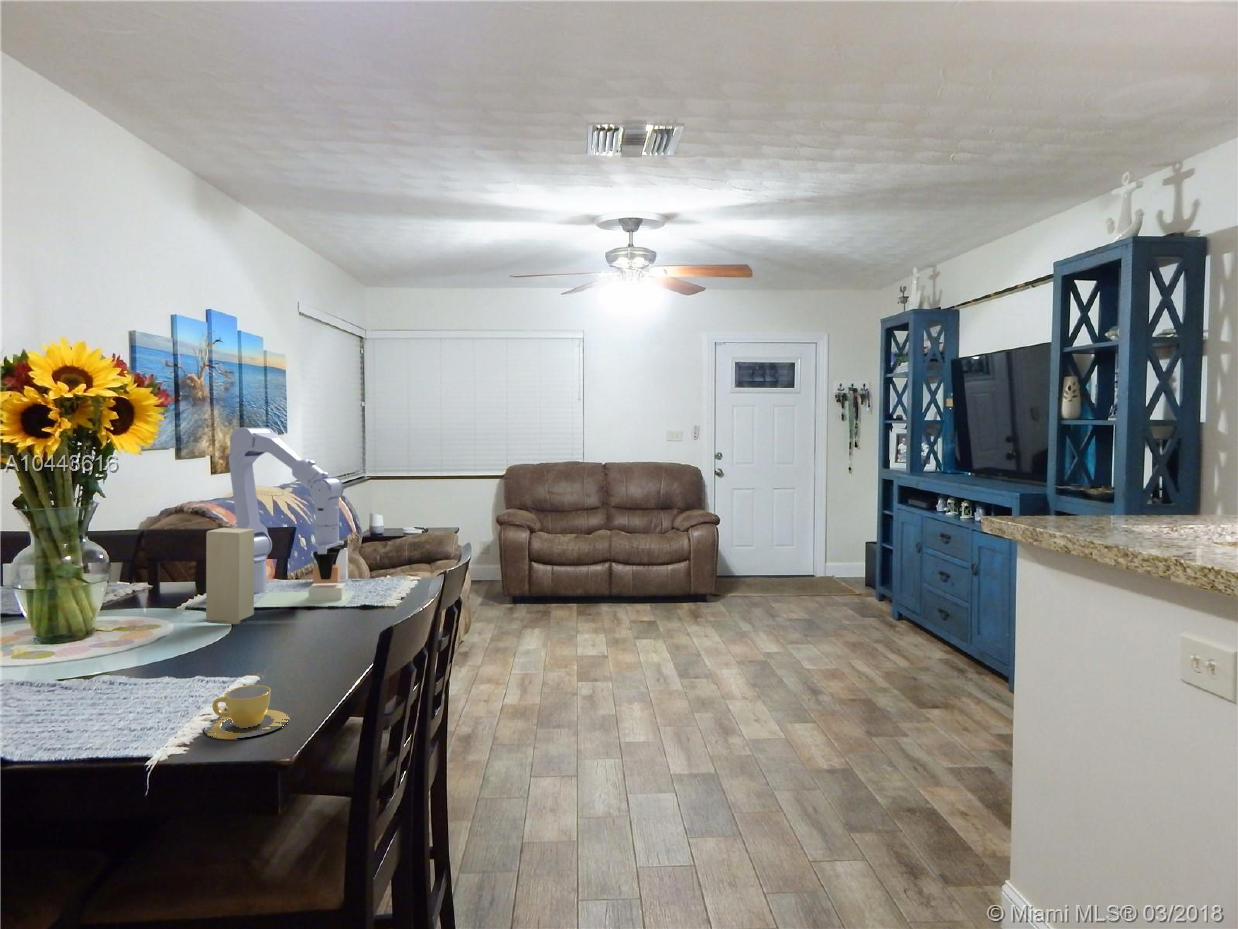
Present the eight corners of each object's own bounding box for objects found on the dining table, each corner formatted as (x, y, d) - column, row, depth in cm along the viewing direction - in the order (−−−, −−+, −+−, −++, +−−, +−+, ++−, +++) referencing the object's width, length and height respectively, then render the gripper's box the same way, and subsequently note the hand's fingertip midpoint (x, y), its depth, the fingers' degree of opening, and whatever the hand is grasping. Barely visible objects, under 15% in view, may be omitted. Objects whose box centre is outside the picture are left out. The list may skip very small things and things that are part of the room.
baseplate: (251, 610, 194) (251, 607, 194) (268, 595, 210) (268, 592, 210) (346, 608, 198) (346, 604, 198) (355, 594, 214) (355, 591, 214)
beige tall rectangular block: (256, 616, 188) (256, 528, 187) (239, 624, 181) (238, 532, 180) (224, 615, 189) (223, 527, 188) (205, 623, 182) (204, 531, 181)
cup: (297, 710, 130) (297, 678, 130) (278, 740, 118) (278, 704, 118) (218, 714, 128) (218, 680, 128) (191, 744, 116) (191, 707, 116)
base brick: (308, 600, 202) (308, 588, 202) (313, 595, 208) (313, 583, 208) (341, 599, 204) (341, 588, 203) (345, 594, 210) (345, 583, 209)
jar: (346, 583, 227) (346, 541, 227) (315, 583, 226) (315, 541, 225) (349, 576, 236) (349, 536, 235) (320, 577, 234) (320, 536, 234)
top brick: (312, 583, 203) (312, 567, 203) (316, 580, 207) (315, 564, 207) (337, 582, 204) (337, 567, 204) (340, 579, 208) (340, 564, 208)
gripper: (338, 528, 198) (338, 582, 199) (347, 521, 213) (348, 571, 213) (308, 528, 197) (309, 583, 198) (320, 521, 211) (320, 572, 212)
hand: (327, 577), depth 206 cm, fingers closed on top brick, 4 cm apart
